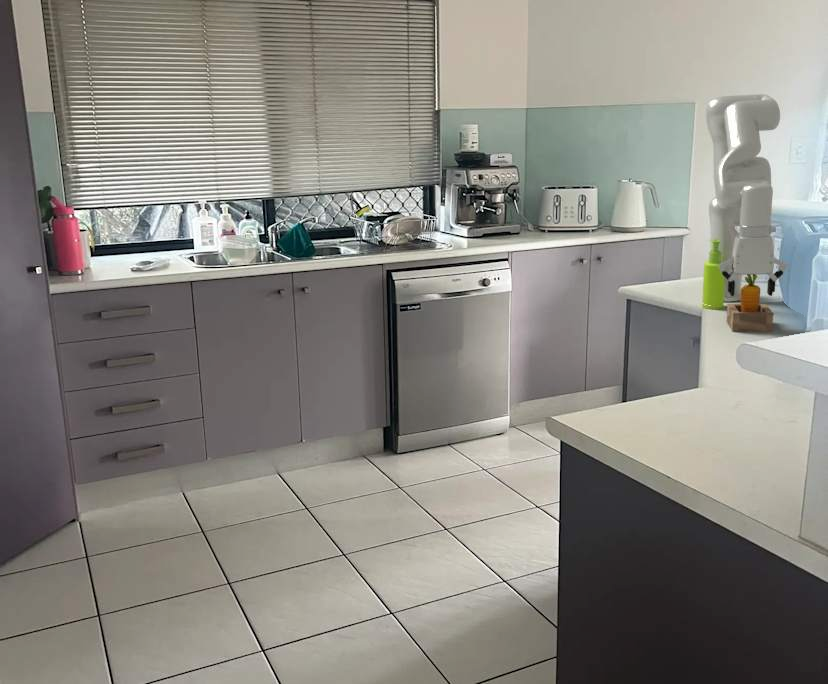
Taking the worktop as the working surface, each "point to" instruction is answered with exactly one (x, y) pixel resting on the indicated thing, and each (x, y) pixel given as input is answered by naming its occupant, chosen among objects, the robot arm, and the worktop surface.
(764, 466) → the worktop surface
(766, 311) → the holder
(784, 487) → the worktop surface
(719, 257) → the soap dispenser
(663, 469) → the worktop surface
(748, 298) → the carrot
